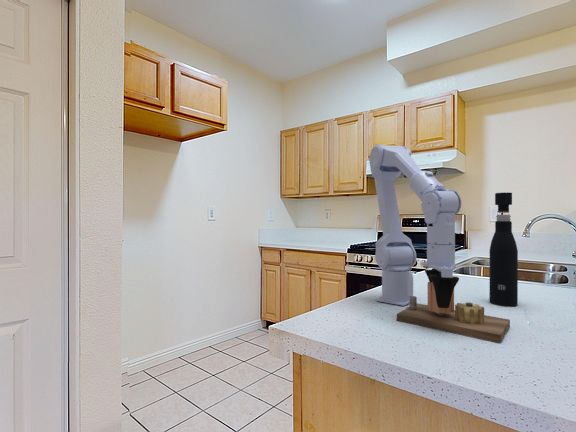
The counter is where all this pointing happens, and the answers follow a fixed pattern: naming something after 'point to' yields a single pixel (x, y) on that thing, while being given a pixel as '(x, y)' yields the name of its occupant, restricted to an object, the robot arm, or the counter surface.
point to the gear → (433, 304)
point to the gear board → (457, 320)
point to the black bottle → (503, 257)
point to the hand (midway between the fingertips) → (440, 303)
